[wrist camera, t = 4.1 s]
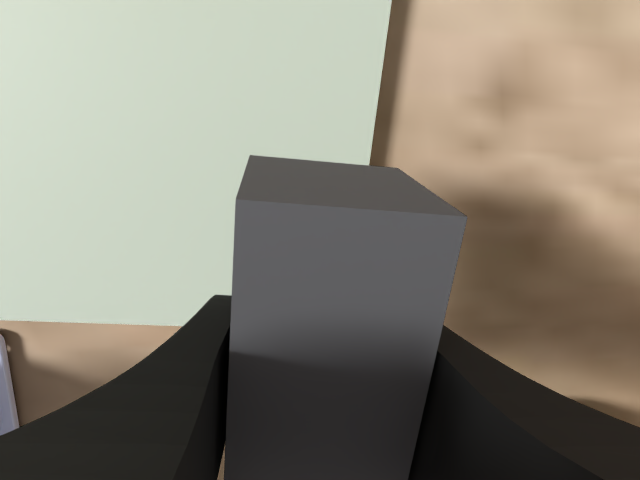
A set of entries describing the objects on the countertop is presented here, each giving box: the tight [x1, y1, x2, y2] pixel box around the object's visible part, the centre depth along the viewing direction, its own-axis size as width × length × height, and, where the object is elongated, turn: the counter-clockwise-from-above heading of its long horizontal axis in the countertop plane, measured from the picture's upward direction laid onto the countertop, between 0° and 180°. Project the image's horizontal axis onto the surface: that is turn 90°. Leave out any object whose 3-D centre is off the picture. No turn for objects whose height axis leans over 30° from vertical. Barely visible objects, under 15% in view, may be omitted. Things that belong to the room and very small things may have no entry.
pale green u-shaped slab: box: [0, 0, 392, 326], centre depth 14 cm, size 20×16×4 cm
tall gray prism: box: [224, 155, 467, 480], centre depth 10 cm, size 8×4×4 cm, turn 174°
